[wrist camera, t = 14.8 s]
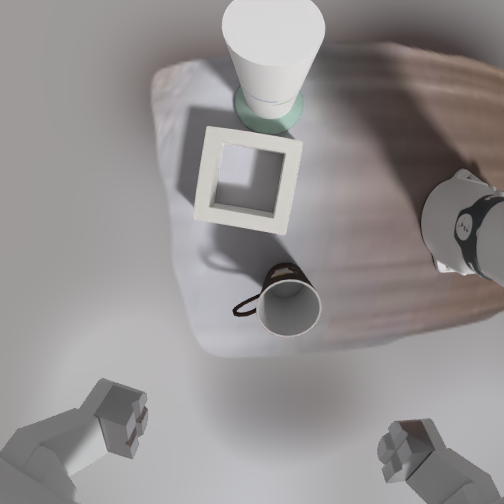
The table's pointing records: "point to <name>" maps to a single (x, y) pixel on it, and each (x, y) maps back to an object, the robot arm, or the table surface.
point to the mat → (267, 124)
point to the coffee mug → (285, 302)
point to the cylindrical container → (272, 50)
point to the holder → (238, 215)
